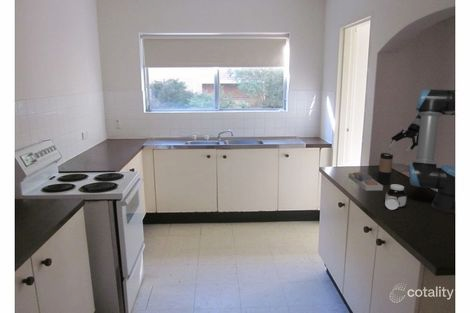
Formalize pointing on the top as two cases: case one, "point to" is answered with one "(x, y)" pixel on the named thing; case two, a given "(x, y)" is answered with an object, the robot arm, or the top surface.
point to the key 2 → (370, 182)
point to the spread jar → (395, 197)
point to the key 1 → (357, 174)
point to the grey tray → (364, 185)
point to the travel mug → (385, 168)
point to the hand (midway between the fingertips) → (398, 150)
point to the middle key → (364, 177)
